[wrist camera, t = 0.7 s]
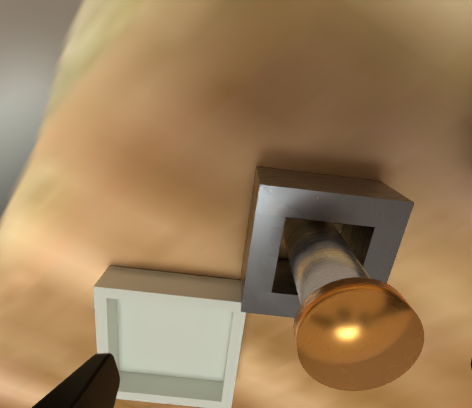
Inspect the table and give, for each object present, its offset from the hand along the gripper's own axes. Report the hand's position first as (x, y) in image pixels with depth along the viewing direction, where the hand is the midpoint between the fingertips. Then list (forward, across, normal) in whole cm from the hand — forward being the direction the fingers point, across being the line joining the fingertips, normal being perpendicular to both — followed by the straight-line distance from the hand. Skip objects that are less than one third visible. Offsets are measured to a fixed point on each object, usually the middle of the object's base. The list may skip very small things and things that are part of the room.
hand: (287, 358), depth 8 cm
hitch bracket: (+13, -3, +3) cm, 14 cm away
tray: (+13, +8, +10) cm, 18 cm away
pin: (+13, -3, +3) cm, 14 cm away
